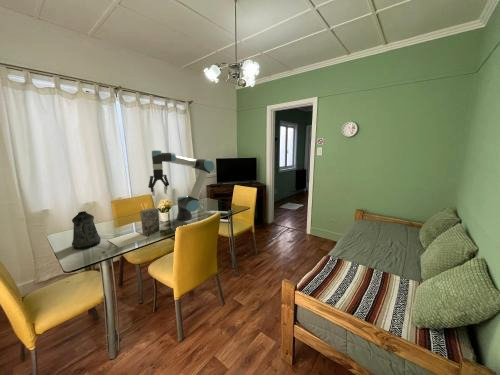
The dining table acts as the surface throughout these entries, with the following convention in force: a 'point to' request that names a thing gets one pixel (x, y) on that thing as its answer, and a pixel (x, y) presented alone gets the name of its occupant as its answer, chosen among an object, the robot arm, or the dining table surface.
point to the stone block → (150, 220)
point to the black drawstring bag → (84, 232)
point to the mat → (128, 239)
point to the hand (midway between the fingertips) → (159, 194)
